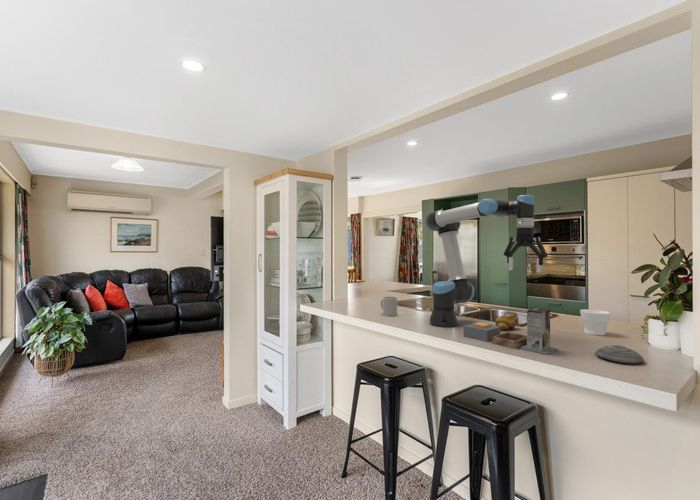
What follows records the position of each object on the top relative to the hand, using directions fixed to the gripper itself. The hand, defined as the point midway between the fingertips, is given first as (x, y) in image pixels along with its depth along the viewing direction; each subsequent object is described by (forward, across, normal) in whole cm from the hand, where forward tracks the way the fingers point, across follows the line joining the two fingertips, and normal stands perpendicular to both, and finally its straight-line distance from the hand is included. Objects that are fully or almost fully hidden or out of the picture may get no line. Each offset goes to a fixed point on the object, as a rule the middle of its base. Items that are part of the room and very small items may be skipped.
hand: (524, 271), depth 173 cm
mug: (+32, -76, -17) cm, 85 cm away
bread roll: (+32, -13, +6) cm, 35 cm away
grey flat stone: (+31, +40, -7) cm, 52 cm away
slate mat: (+31, +16, -18) cm, 39 cm away
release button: (+30, -10, -19) cm, 37 cm away
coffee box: (+31, +16, -18) cm, 39 cm away
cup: (+31, +20, +33) cm, 49 cm away
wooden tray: (+31, +4, -18) cm, 36 cm away
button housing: (+31, -10, -19) cm, 38 cm away
